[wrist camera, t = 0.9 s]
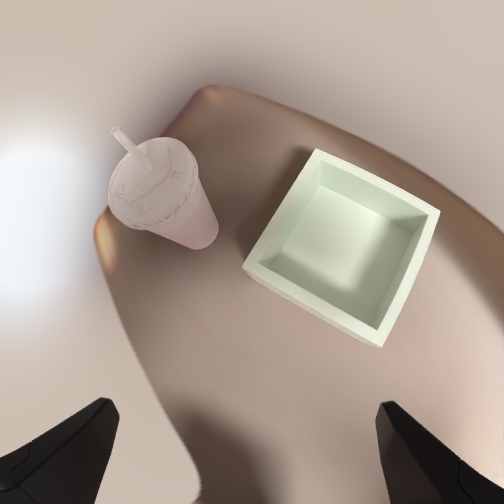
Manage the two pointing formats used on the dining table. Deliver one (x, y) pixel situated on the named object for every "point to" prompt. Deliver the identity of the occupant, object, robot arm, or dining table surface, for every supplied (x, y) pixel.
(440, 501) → the robot arm
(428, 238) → the bin
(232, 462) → the dining table surface
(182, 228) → the smoothie
